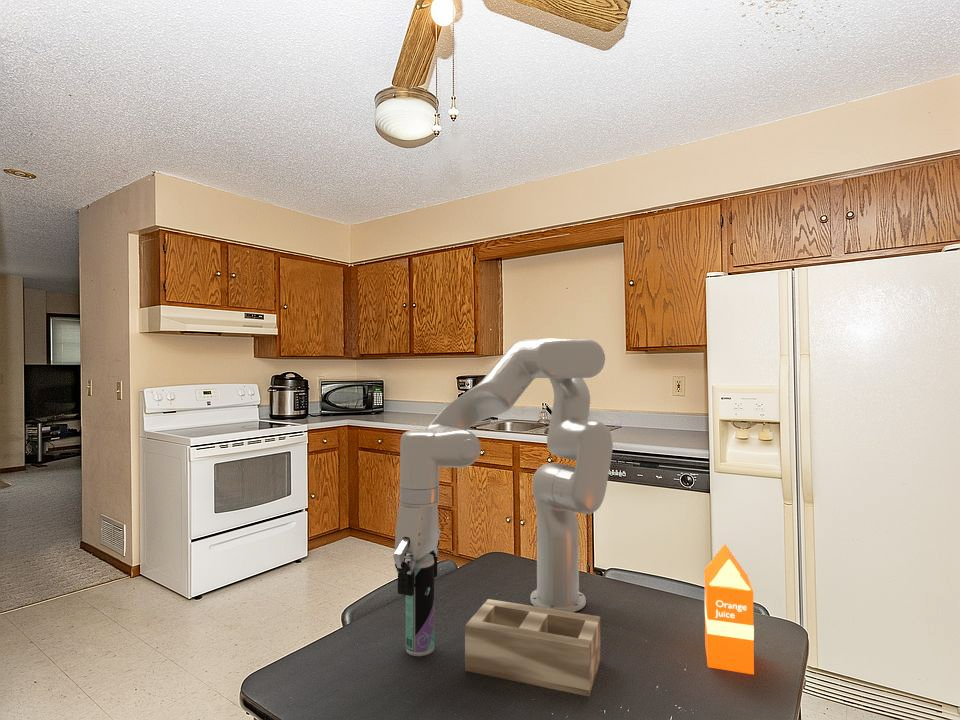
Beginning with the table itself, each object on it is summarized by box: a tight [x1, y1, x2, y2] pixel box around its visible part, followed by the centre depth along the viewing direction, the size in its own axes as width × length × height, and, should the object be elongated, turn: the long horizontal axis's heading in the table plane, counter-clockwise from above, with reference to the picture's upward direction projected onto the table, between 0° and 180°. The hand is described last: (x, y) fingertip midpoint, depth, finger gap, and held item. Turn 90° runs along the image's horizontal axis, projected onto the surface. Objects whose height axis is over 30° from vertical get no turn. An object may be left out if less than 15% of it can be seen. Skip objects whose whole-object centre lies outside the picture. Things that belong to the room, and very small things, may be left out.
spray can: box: [405, 553, 435, 657], centre depth 107 cm, size 6×6×20 cm
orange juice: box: [703, 543, 755, 675], centre depth 103 cm, size 8×9×20 cm
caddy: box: [464, 598, 601, 697], centre depth 101 cm, size 12×22×8 cm, turn 69°
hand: (418, 584), depth 106 cm, fingers open, 9 cm apart
